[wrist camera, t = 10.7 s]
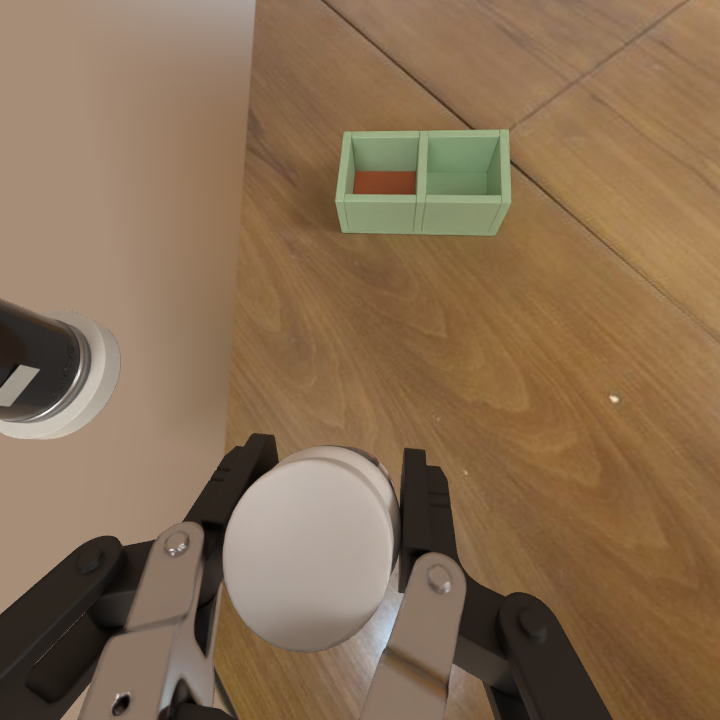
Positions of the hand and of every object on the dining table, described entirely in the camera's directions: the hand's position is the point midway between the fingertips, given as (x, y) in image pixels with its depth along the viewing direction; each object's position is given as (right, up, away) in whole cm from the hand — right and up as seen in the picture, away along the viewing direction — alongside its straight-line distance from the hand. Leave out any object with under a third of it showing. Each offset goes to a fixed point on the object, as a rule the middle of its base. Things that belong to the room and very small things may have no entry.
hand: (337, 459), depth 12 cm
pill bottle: (0, -3, +4) cm, 5 cm away
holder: (+7, +20, +21) cm, 30 cm away
